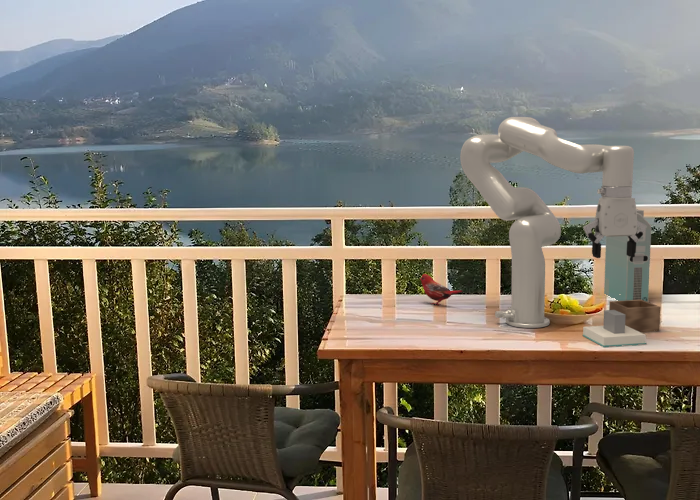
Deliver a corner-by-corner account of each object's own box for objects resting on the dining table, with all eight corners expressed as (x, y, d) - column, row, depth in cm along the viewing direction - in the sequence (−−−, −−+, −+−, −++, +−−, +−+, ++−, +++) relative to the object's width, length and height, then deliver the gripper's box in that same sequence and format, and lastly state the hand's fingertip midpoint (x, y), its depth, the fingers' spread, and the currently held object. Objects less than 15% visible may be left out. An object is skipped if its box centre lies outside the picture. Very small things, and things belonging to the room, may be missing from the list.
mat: (603, 347, 204) (603, 345, 204) (582, 335, 215) (582, 334, 215) (646, 344, 206) (646, 343, 206) (623, 333, 217) (623, 332, 217)
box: (626, 333, 217) (627, 308, 216) (608, 324, 227) (609, 301, 226) (659, 331, 219) (660, 306, 218) (640, 323, 229) (641, 299, 228)
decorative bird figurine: (422, 301, 263) (422, 272, 261) (465, 309, 251) (465, 278, 249) (416, 303, 261) (416, 273, 259) (460, 310, 249) (460, 279, 247)
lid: (603, 345, 204) (604, 318, 203) (583, 334, 215) (583, 308, 214) (645, 343, 206) (646, 316, 205) (623, 332, 217) (623, 306, 216)
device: (648, 303, 255) (652, 212, 250) (625, 304, 254) (629, 212, 249) (625, 293, 271) (628, 207, 266) (603, 294, 270) (606, 208, 266)
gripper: (592, 194, 201) (589, 260, 204) (654, 193, 204) (651, 258, 206) (579, 192, 209) (576, 255, 211) (639, 191, 211) (636, 253, 214)
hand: (613, 256), depth 209 cm, fingers open, 9 cm apart
